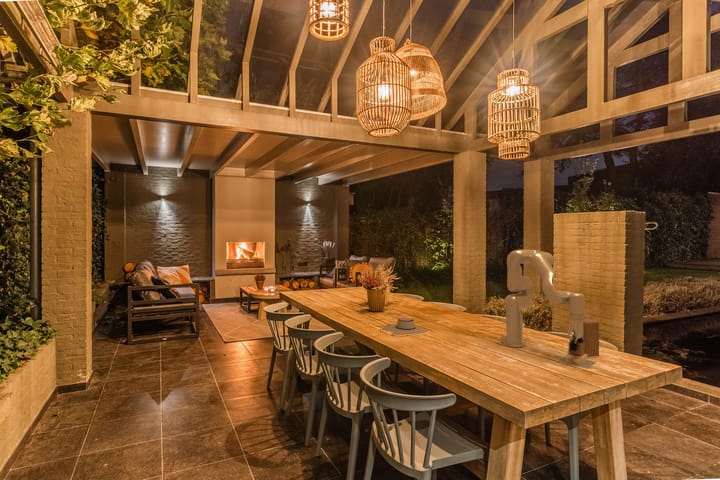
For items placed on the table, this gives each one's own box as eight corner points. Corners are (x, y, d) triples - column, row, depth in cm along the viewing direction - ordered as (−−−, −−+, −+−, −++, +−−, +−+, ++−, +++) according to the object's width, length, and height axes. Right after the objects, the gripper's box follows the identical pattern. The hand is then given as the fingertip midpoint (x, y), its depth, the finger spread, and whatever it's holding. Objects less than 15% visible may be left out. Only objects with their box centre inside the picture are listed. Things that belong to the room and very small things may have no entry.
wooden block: (585, 358, 219) (585, 322, 219) (571, 353, 228) (571, 318, 228) (600, 357, 221) (599, 321, 221) (585, 352, 231) (585, 317, 231)
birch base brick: (566, 362, 210) (566, 354, 210) (571, 358, 216) (571, 351, 216) (582, 365, 205) (582, 357, 205) (587, 361, 210) (587, 354, 210)
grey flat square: (556, 363, 210) (556, 362, 210) (566, 357, 221) (566, 356, 221) (588, 370, 200) (588, 368, 200) (597, 363, 210) (596, 361, 210)
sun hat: (370, 331, 290) (370, 318, 290) (404, 324, 313) (404, 312, 313) (406, 340, 262) (406, 326, 262) (441, 331, 285) (441, 319, 285)
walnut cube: (568, 354, 210) (568, 343, 210) (572, 352, 214) (572, 341, 214) (581, 356, 206) (581, 345, 206) (584, 354, 210) (584, 343, 210)
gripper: (574, 313, 219) (574, 344, 219) (563, 317, 207) (563, 350, 207) (589, 315, 214) (589, 346, 214) (578, 319, 201) (578, 353, 202)
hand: (576, 348), depth 210 cm, fingers open, 9 cm apart
